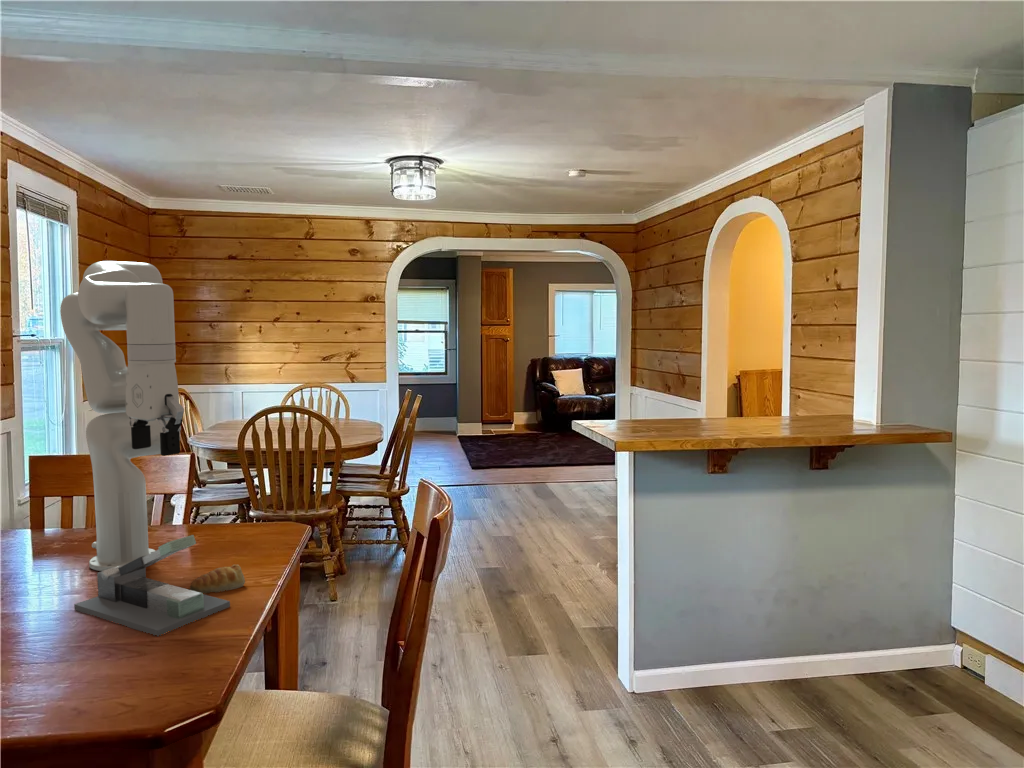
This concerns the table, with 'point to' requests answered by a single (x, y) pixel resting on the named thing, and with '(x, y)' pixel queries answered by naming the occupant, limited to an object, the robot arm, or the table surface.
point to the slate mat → (146, 614)
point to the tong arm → (158, 554)
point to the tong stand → (148, 593)
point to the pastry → (219, 580)
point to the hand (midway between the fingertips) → (155, 451)
